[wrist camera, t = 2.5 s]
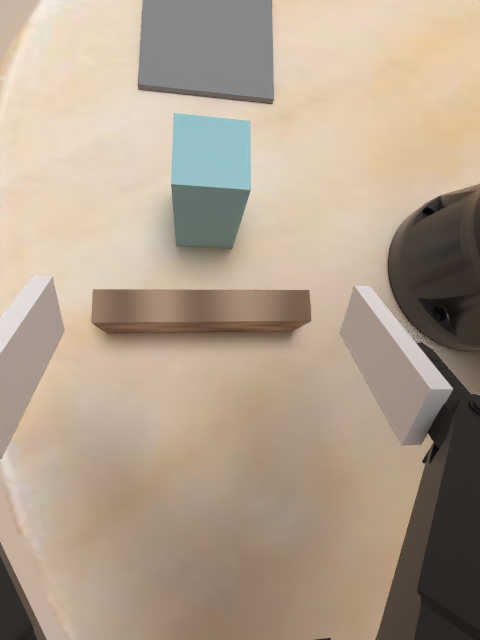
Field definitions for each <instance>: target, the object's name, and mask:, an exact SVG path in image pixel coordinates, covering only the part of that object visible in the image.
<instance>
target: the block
mask: <svg viewBox="0 0 480 640" xmlns="http://www.w3.org/2000/svg"><path fill="white" fill-rule="evenodd" d="M171 187H172V199H173V211H174V223H175V235H176V245H177V246H196V247H215V248H232V247H233V244H234V241H235V238H236V235H237V232H238V228H239V225H240V222H241V219H242V216H243V212H244V209H245V206H246V203H247V200H248V197H249V193H250V190H251V176H250V121H244V120H234V119H225V118H215V117H205V116H195V115H185V114H175V113H174V124H173V151H172V178H171Z"/></svg>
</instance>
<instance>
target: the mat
mask: <svg viewBox="0 0 480 640" xmlns="http://www.w3.org/2000/svg"><path fill="white" fill-rule="evenodd" d="M138 87H139V89H141V90H151V91H160V92H169V93H178V94H188V95H197V96H206V97H216V98H225V99H234V100H244V101H253V102H262V103H271V104H272V103H273V100H274V83H273V35H272V0H143V8H142V25H141V41H140V58H139V75H138Z"/></svg>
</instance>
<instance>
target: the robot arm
mask: <svg viewBox="0 0 480 640" xmlns="http://www.w3.org/2000/svg"><path fill="white" fill-rule="evenodd" d="M389 276H390V281H391V285H392V289H393V292H394V294H395V297H396V299H397V301H398V303H399V305H400V307H401V309H402V310H403V312H404V313H405V315H406V316H407V317H408V319H409V320H410V321H411V322H412V323H413V324H414V325H415V326H416V327H417V328H418V329H419V330H420V331H421V332H422V333H424V334H425V335H426V336H428V337H429V338H431V339H432V340H434V341H436V342H438V343H440V344H442V345H444V346H447V347H450V348H453V349H458V350H464V351H478V350H480V184H478V185H474V186H471V187H468V188H464V189H461V190H457V191H454V192H451V193H447V194H444V195H441V196H439V197H436V198H434V199H432V200H431V201H429V202H427V203H426V204H424V205H423V206H422V207H420V208H419V209H418V210H416V211H415V212H414V213H413V214H411V215H410V216H409V217H408V218H407V219H406V220H405V221H404V222H403V223H402V224H401V226H400V227H399V229H398V230H397V232H396V234H395V236H394V238H393V241H392V244H391V248H390V253H389ZM64 331H65V330H64V326H63V321H62V317H61V313H60V308H59V304H58V299H57V295H56V290H55V286H54V281H53V277H43V276H32V278H31V279H30V280H29V282H28V283H27V284H26V285H25V287H24V288H23V289H22V291H21V292H20V293H19V294H18V296H17V297H16V298H15V300H14V301H13V302H12V303H11V305H10V306H9V307H8V309H7V310H6V311H5V313H4V314H3V315H2V316H1V318H0V459H2V457H3V455H4V453H5V451H6V449H7V447H8V445H9V443H10V441H11V439H12V436H13V434H14V432H15V430H16V428H17V426H18V424H19V422H20V420H21V418H22V416H23V414H24V412H25V410H26V408H27V406H28V404H29V402H30V400H31V398H32V396H33V394H34V392H35V390H36V388H37V386H38V384H39V382H40V380H41V378H42V376H43V374H44V372H45V370H46V368H47V365H48V363H49V361H50V359H51V357H52V355H53V353H54V351H55V349H56V347H57V345H58V343H59V341H60V339H61V337H62V335H63V333H64ZM340 335H341V337H342V339H343V340H344V342H345V344H346V346H347V348H348V349H349V351H350V353H351V355H352V357H353V359H354V360H355V362H356V364H357V366H358V368H359V369H360V371H361V373H362V375H363V377H364V378H365V380H366V382H367V384H368V386H369V388H370V389H371V391H372V393H373V395H374V397H375V398H376V400H377V402H378V404H379V406H380V408H381V409H382V411H383V413H384V415H385V417H386V418H387V420H388V422H389V424H390V426H391V427H392V429H393V431H394V433H395V435H396V437H397V438H398V440H399V442H400V444H401V445H421V444H422V442H423V441H424V439H425V437H426V435H427V434H429V436H430V437H431V439H432V440H433V442H434V443H433V444H432V446H431V448H430V449H429V451H428V453H427V454H426V456H425V458H424V459H423V461H422V462H423V463H426V464H425V468H424V471H423V475H422V478H421V482H420V485H419V489H418V493H417V496H416V500H415V503H414V507H413V510H412V514H411V518H410V521H409V525H408V528H407V532H406V535H405V539H404V542H403V546H402V550H401V553H400V557H399V560H398V564H397V567H396V571H395V574H394V578H393V582H392V585H391V589H390V592H389V596H388V599H387V603H386V606H385V610H384V614H383V617H382V621H381V624H380V628H379V631H378V634H377V637H376V639H375V640H480V396H478V395H474V394H470V393H469V392H468V391H467V389H466V388H465V387H464V386H463V385H462V383H461V382H460V381H459V380H458V379H457V378H456V376H455V375H454V374H453V373H452V372H451V371H450V369H448V367H447V366H446V365H445V363H444V362H442V360H441V359H440V358H439V356H438V355H437V354H436V353H435V352H434V351H433V350H432V349H430V348H429V347H427V346H426V345H425V344H423V343H416V342H415V341H414V340H413V339H412V337H411V336H410V335H409V334H408V332H407V331H406V330H405V329H404V328H403V326H402V325H401V324H400V323H399V321H398V320H397V319H396V318H395V316H394V315H393V314H392V313H391V311H390V310H389V309H388V308H387V307H386V305H385V304H384V303H383V302H382V300H381V299H380V298H379V297H378V295H377V294H376V293H375V292H374V290H373V289H372V288H371V287H370V286H354V288H353V291H352V295H351V298H350V301H349V305H348V308H347V311H346V315H345V318H344V321H343V325H342V328H341V331H340ZM0 640H47V639H46V638H45V636H44V633H43V631H42V629H41V627H40V625H39V623H38V621H37V619H36V617H35V614H34V612H33V610H32V608H31V606H30V604H29V602H28V600H27V597H26V595H25V593H24V591H23V589H22V587H21V585H20V583H19V581H18V579H17V576H16V574H15V572H14V571H13V568H12V566H11V564H10V562H9V560H8V558H7V556H6V553H5V551H4V550H3V547H2V545H1V543H0ZM317 640H331V639H330V638H326V639H317Z"/></svg>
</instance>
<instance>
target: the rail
mask: <svg viewBox="0 0 480 640" xmlns="http://www.w3.org/2000/svg"><path fill="white" fill-rule="evenodd" d="M310 321H311V308H310V294H309V290H93V298H92V323H93V324H94V325H96V326H97V327H99V328H100V329H101V330H103V331H104V332H106V333H145V332H226V331H294V330H296V329H298V328H299V327H301V326H303V325H305V324H306V323H308V322H310Z"/></svg>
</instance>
